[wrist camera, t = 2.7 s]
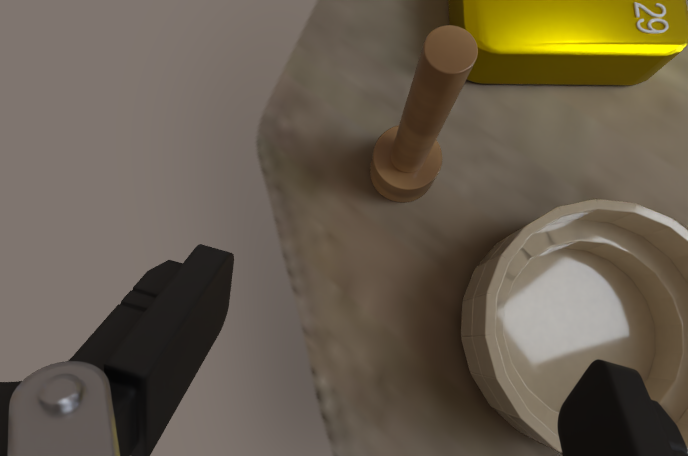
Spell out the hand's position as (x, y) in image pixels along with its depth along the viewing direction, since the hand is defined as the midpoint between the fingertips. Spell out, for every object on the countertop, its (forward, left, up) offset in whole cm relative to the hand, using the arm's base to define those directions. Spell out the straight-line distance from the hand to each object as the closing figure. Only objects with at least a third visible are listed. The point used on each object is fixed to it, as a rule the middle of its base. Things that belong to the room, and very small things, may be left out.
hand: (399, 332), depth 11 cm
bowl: (-9, +10, -22) cm, 26 cm away
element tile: (-28, -6, -22) cm, 36 cm away
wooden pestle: (-10, -5, -22) cm, 25 cm away
